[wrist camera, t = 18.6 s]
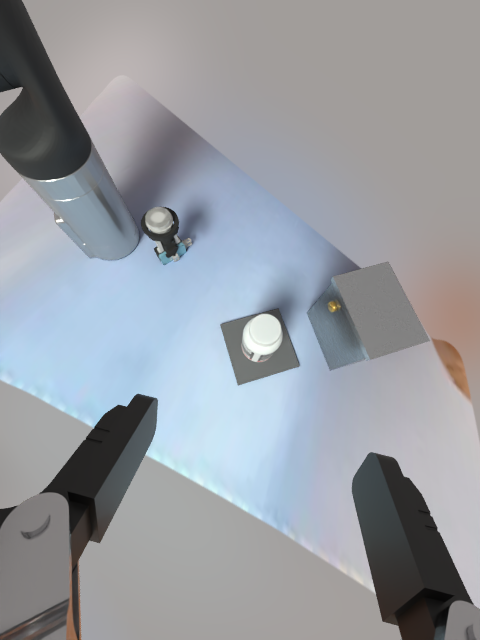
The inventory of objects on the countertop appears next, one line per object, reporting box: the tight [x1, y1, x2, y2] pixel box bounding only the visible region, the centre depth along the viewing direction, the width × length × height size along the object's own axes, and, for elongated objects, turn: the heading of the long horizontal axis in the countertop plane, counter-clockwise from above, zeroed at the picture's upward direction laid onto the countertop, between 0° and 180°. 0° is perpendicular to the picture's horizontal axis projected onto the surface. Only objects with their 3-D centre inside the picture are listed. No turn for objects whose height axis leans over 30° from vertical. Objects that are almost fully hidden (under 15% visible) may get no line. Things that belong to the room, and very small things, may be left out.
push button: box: [141, 207, 192, 265], centre depth 42 cm, size 7×5×10 cm
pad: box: [220, 309, 299, 385], centre depth 42 cm, size 10×10×1 cm
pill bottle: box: [241, 314, 283, 362], centre depth 37 cm, size 5×5×10 cm
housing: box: [307, 262, 430, 370], centre depth 37 cm, size 8×11×13 cm
